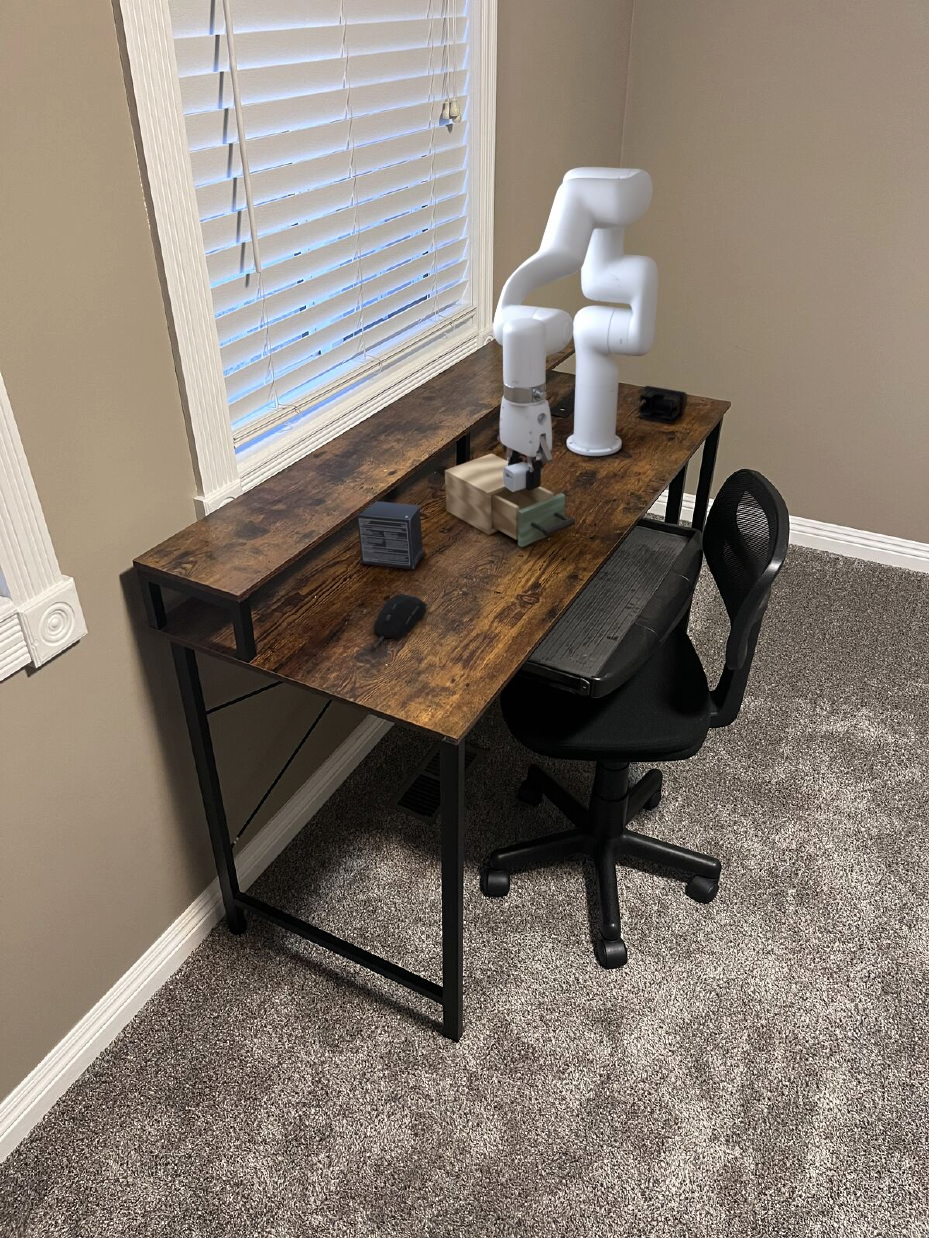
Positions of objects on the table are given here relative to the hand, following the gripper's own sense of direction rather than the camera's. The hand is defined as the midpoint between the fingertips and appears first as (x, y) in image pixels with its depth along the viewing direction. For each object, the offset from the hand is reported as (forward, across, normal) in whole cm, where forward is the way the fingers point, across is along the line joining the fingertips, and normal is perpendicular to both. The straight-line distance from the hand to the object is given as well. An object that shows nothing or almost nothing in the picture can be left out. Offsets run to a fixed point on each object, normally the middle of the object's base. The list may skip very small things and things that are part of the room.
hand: (524, 483), depth 175 cm
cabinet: (+10, +10, 0) cm, 15 cm away
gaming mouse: (+11, -10, +38) cm, 41 cm away
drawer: (+10, -2, 0) cm, 10 cm away
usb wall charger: (+1, 0, 0) cm, 1 cm away
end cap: (+11, +22, -64) cm, 68 cm away
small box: (+11, +8, +26) cm, 29 cm away
